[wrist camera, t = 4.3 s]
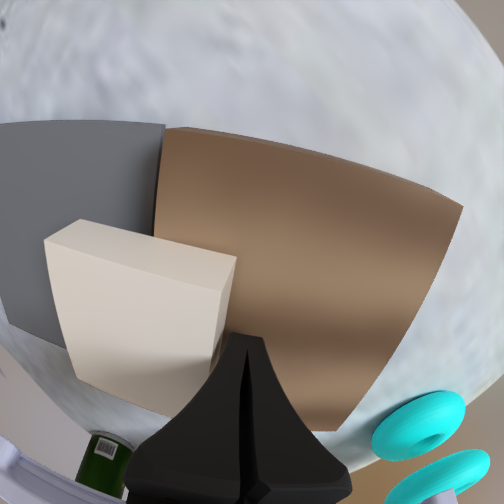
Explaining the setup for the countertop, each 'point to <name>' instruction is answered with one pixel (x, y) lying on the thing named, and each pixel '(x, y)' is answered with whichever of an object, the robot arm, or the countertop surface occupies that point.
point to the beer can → (105, 464)
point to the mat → (67, 200)
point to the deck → (307, 256)
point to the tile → (139, 312)
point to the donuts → (428, 447)
